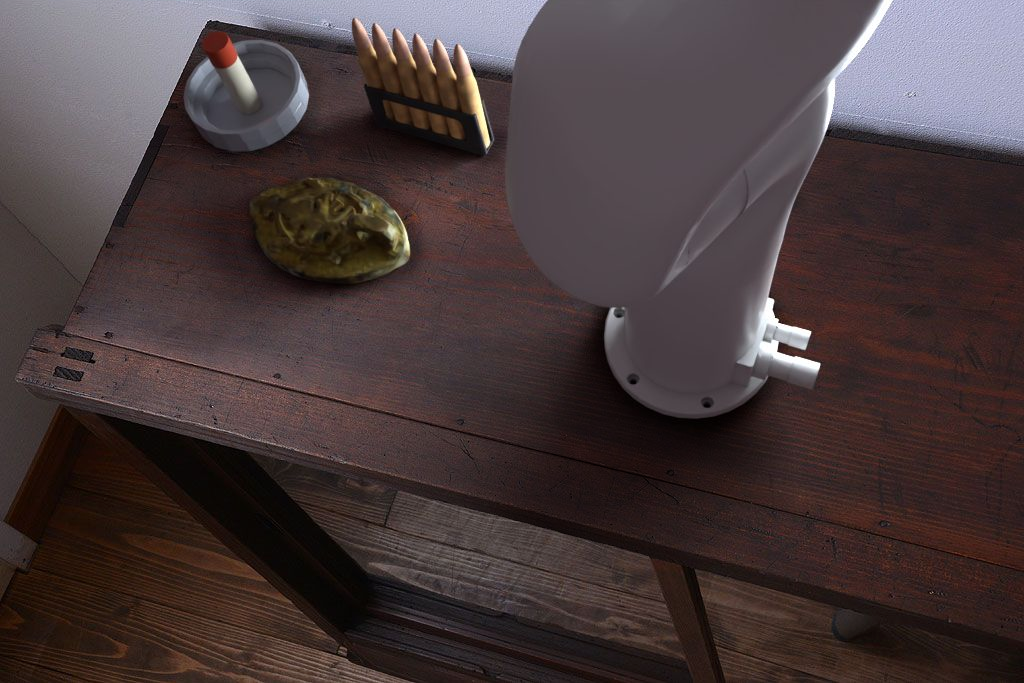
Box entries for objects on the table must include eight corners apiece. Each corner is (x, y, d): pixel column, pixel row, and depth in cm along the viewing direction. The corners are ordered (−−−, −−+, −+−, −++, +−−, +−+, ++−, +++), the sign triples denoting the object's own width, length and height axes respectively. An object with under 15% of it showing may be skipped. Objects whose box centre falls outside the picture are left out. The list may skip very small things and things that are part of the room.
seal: (232, 262, 81) (392, 308, 77) (207, 238, 77) (375, 285, 73) (277, 167, 84) (434, 207, 80) (254, 138, 80) (419, 178, 76)
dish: (329, 77, 88) (320, 53, 85) (276, 167, 84) (264, 146, 81) (232, 52, 91) (220, 29, 88) (176, 139, 87) (162, 117, 84)
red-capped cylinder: (267, 98, 87) (233, 34, 80) (254, 118, 86) (220, 54, 79) (245, 92, 88) (210, 28, 80) (233, 112, 87) (196, 49, 80)
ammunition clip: (495, 139, 83) (473, 38, 72) (486, 156, 82) (463, 56, 71) (385, 108, 85) (348, 6, 75) (375, 124, 85) (337, 24, 74)
